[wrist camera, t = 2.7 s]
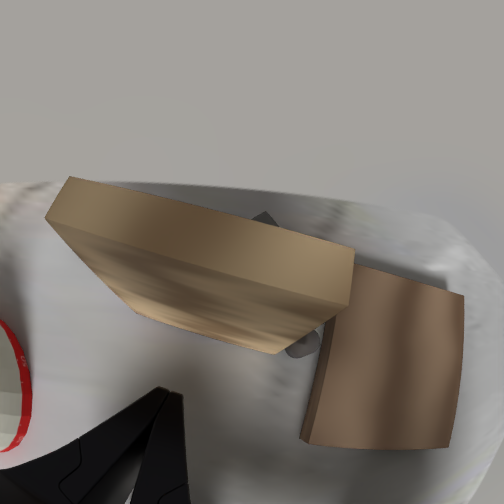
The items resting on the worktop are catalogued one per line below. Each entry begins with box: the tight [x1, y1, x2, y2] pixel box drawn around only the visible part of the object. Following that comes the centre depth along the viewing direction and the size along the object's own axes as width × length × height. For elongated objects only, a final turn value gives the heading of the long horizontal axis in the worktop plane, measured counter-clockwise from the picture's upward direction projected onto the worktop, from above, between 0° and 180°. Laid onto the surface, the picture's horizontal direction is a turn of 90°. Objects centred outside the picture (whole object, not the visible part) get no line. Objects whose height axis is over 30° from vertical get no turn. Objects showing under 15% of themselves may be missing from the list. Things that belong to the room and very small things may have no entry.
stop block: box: [251, 211, 279, 227], centre depth 23 cm, size 2×2×4 cm
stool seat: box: [300, 263, 464, 450], centre depth 21 cm, size 13×14×2 cm
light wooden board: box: [45, 176, 355, 358], centre depth 16 cm, size 13×2×14 cm, turn 75°
